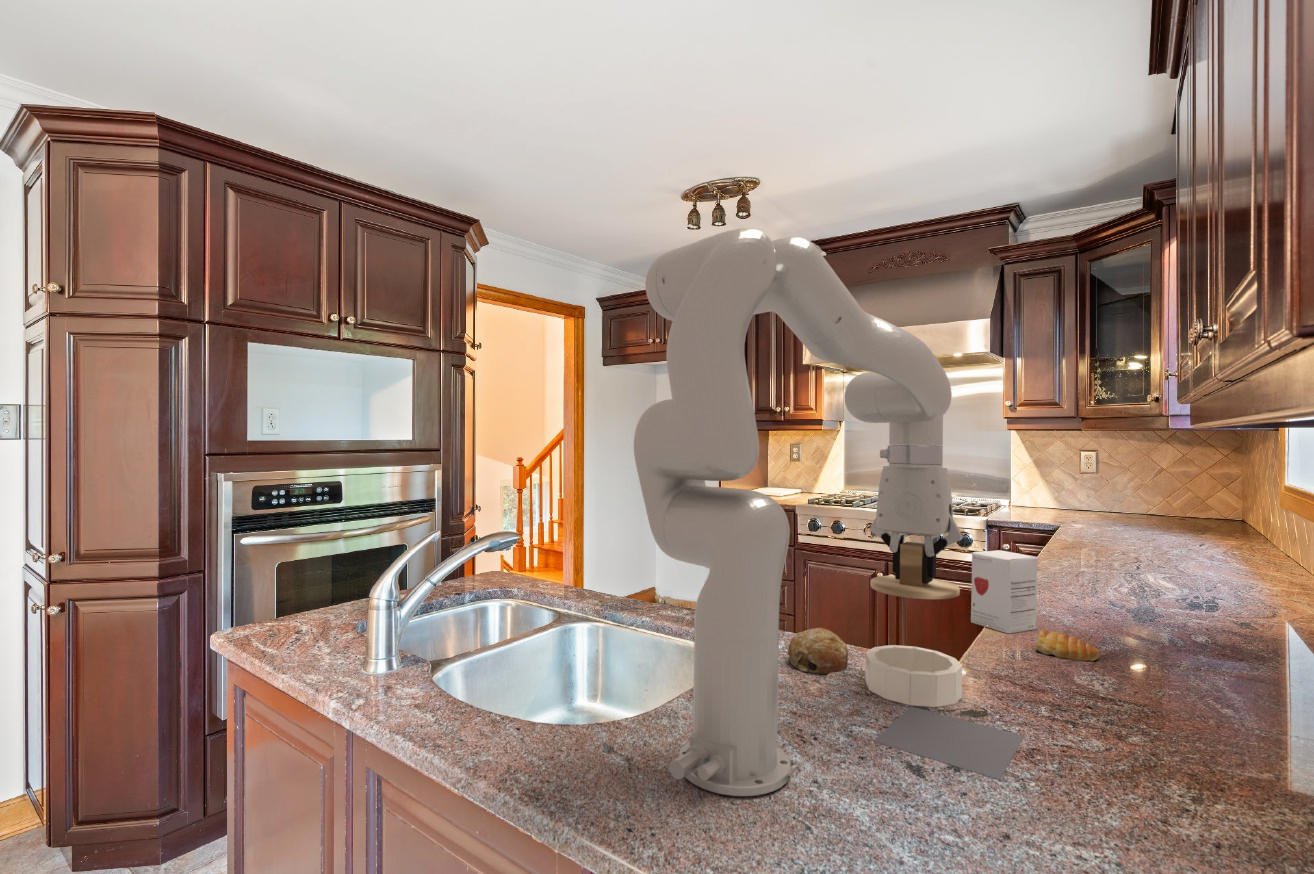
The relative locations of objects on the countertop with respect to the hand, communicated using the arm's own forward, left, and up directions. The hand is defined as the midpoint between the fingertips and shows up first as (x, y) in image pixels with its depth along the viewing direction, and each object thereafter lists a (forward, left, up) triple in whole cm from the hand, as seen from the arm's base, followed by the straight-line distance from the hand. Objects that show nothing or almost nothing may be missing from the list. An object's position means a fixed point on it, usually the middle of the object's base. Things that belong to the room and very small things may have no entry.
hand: (913, 578), depth 98 cm
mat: (-14, -9, -17) cm, 24 cm away
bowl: (0, 0, -17) cm, 17 cm away
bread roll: (+2, +16, -17) cm, 24 cm away
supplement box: (+50, -2, -17) cm, 53 cm away
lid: (0, 0, -2) cm, 2 cm away
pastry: (+38, -15, -18) cm, 44 cm away
